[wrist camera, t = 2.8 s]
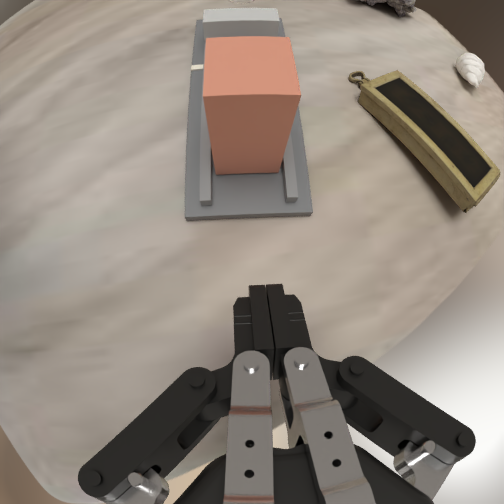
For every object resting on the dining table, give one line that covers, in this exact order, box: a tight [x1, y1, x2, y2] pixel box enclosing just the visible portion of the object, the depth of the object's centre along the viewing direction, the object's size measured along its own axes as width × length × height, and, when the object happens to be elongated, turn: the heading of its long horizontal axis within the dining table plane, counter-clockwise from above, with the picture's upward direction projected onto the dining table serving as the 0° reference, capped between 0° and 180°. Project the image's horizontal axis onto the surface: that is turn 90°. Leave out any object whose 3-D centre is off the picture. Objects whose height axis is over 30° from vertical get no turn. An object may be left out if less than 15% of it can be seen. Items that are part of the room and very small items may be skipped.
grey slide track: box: [185, 8, 313, 221], centre depth 29 cm, size 30×12×6 cm, turn 3°
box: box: [348, 70, 500, 213], centre depth 30 cm, size 8×22×5 cm, turn 36°
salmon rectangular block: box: [203, 36, 301, 175], centre depth 23 cm, size 6×6×12 cm
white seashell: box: [456, 53, 485, 88], centre depth 33 cm, size 6×6×5 cm
